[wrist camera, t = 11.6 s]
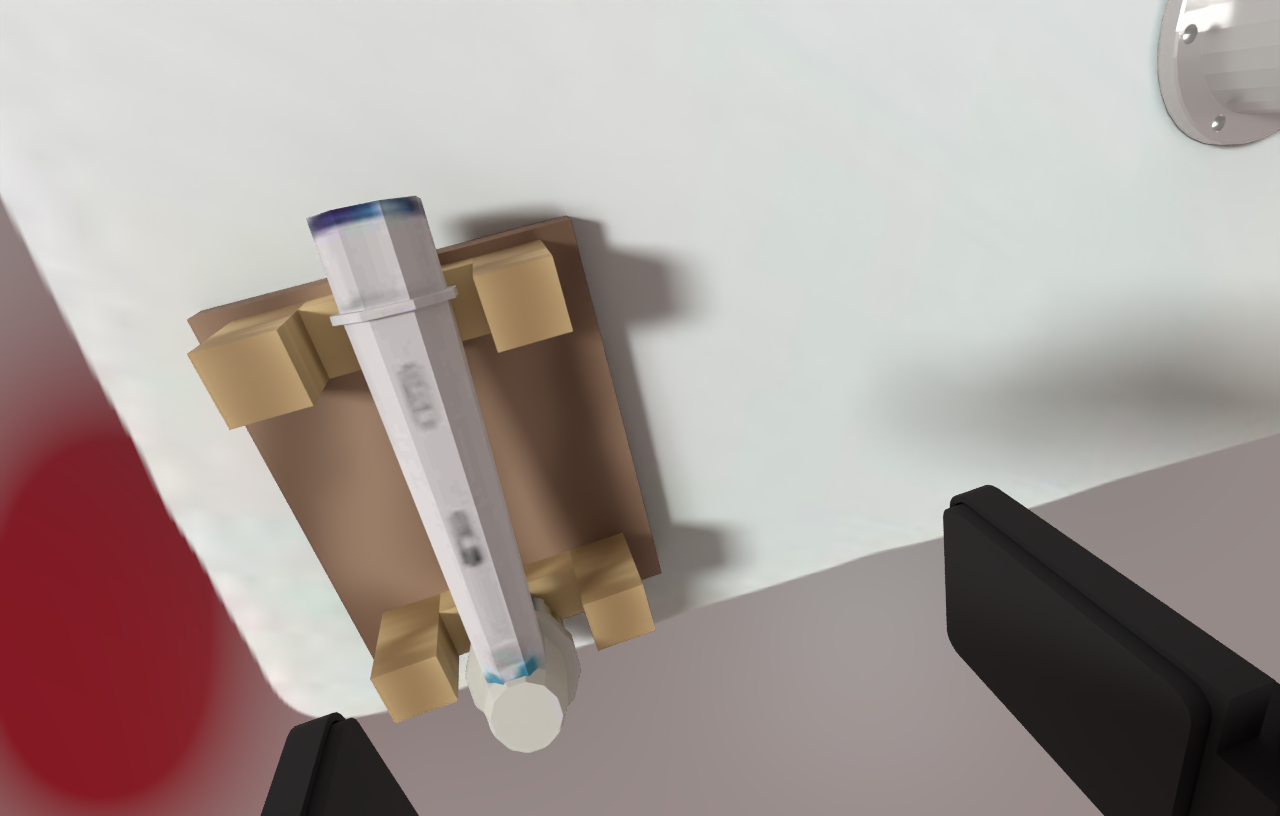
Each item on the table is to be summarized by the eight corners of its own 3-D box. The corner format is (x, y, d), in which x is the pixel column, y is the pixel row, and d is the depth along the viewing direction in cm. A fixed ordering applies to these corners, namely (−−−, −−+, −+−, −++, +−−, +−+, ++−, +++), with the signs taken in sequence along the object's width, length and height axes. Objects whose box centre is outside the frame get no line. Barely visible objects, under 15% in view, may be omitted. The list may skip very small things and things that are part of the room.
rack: (566, 215, 29) (587, 232, 23) (654, 557, 37) (685, 627, 32) (201, 310, 27) (132, 353, 21) (383, 650, 35) (367, 741, 30)
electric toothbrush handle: (434, 187, 21) (604, 771, 28) (448, 200, 27) (584, 673, 34) (267, 222, 20) (487, 812, 27) (323, 226, 26) (489, 705, 34)
